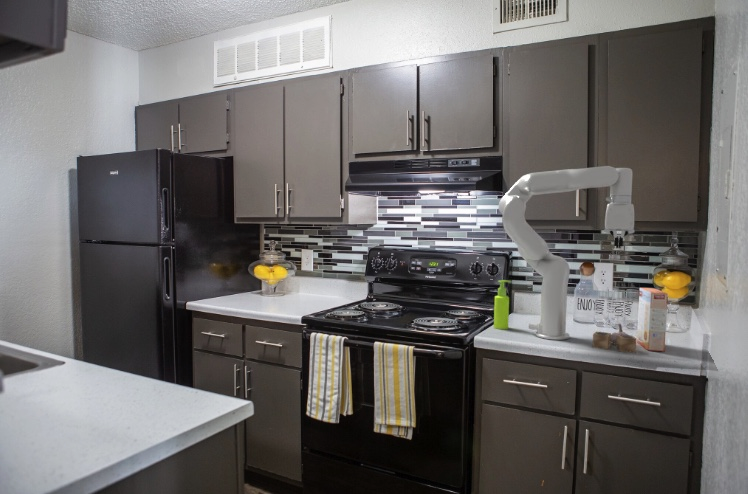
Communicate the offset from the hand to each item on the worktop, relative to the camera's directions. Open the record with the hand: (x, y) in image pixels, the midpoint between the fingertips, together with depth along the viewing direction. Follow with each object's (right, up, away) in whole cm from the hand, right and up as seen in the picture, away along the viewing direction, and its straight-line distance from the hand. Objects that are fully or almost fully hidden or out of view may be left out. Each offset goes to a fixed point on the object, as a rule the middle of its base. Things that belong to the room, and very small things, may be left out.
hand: (618, 248), depth 207 cm
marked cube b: (-12, -36, -13) cm, 40 cm away
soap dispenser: (-41, -34, +18) cm, 56 cm away
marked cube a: (-5, -36, -18) cm, 41 cm away
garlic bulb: (-3, -36, -9) cm, 37 cm away
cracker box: (+6, -36, -12) cm, 39 cm away
